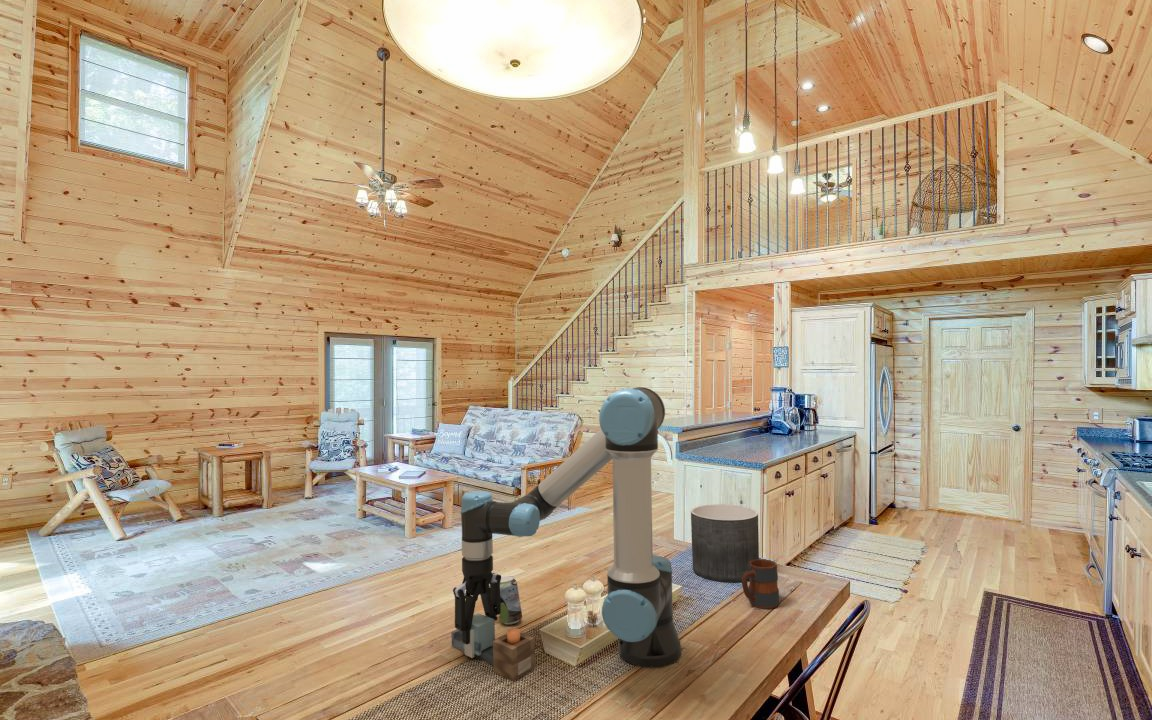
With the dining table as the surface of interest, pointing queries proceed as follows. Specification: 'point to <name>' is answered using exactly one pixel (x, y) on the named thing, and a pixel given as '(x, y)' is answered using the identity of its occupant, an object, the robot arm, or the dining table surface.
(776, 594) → the mug
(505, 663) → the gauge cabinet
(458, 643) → the rail
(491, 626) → the carriage
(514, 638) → the orange rounded piece
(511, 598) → the beverage can
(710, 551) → the planter
